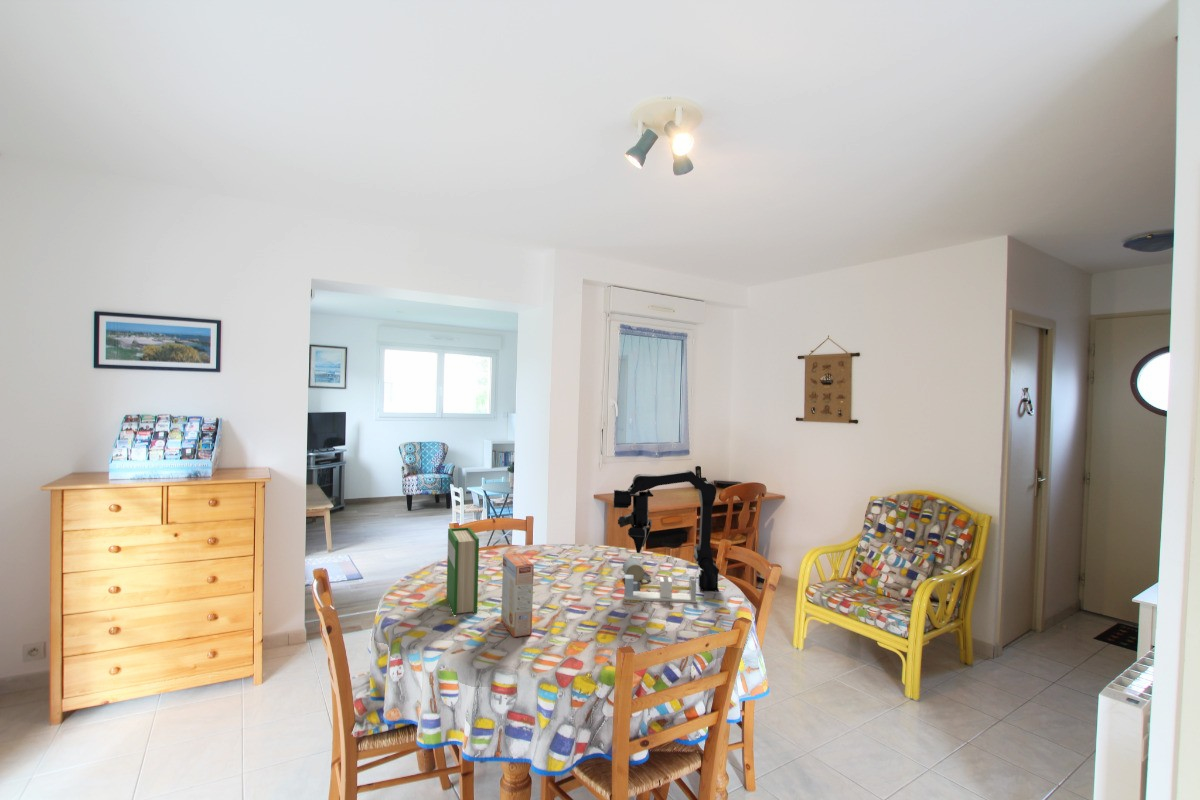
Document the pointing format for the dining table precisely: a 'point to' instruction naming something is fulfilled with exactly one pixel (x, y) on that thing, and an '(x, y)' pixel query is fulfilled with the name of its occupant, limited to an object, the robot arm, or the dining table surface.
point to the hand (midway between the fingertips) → (640, 549)
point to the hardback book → (462, 570)
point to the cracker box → (517, 594)
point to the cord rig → (655, 596)
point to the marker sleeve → (665, 587)
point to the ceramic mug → (635, 570)
